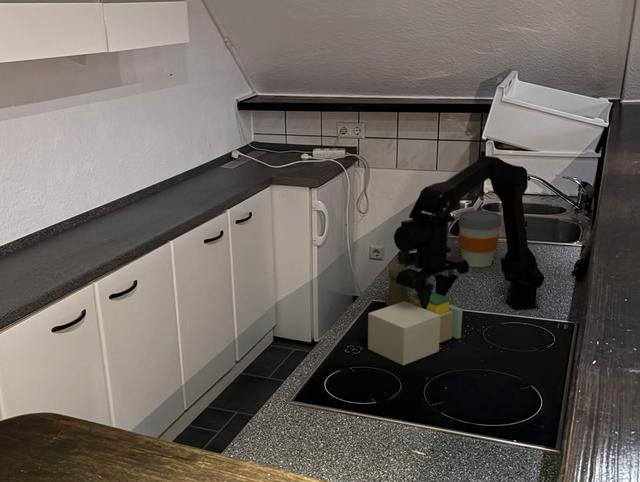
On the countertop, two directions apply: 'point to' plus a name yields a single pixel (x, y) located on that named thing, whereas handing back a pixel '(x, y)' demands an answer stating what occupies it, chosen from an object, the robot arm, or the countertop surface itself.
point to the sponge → (435, 303)
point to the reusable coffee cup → (479, 236)
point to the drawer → (451, 324)
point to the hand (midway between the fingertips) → (431, 306)
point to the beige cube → (403, 332)
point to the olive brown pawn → (396, 287)
